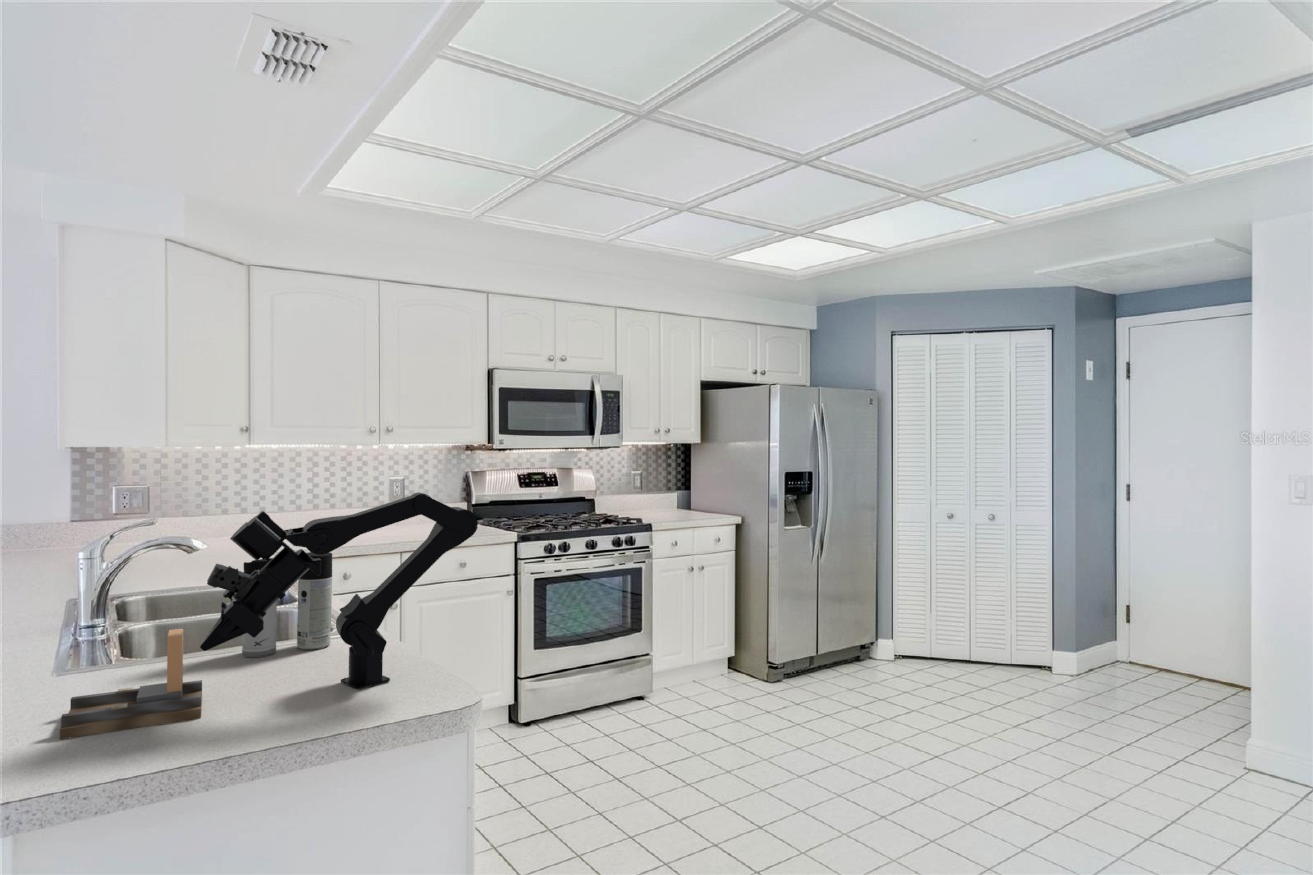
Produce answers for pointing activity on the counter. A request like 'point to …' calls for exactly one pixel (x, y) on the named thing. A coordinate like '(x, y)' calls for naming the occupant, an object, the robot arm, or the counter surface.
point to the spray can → (315, 606)
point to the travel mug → (267, 637)
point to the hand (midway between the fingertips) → (202, 648)
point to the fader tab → (173, 673)
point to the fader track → (128, 711)
